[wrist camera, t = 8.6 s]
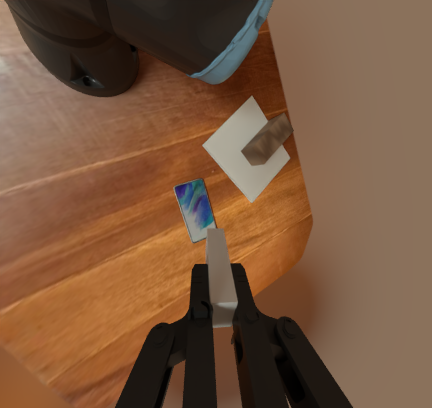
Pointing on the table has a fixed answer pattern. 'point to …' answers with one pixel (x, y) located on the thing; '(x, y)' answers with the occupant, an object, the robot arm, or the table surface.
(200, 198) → the smartphone
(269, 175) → the mat
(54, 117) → the table surface
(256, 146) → the walnut block
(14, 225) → the table surface
